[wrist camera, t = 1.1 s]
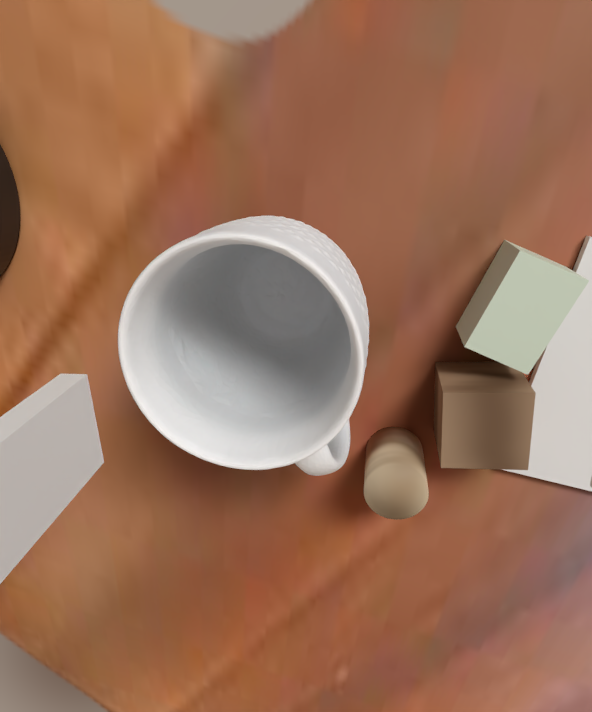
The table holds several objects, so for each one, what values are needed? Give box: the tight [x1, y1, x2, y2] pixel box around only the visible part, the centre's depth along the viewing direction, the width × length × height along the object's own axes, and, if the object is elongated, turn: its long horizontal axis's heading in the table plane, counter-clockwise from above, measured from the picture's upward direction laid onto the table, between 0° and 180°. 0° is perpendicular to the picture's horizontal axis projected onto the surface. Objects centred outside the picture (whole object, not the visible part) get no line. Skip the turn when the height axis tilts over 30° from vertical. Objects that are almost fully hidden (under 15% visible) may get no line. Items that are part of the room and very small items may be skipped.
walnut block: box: [434, 362, 536, 470], centre depth 33 cm, size 5×5×5 cm
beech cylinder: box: [364, 427, 429, 519], centre depth 35 cm, size 4×4×5 cm
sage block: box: [456, 240, 589, 375], centre depth 31 cm, size 4×6×4 cm, turn 158°
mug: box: [118, 216, 369, 476], centre depth 29 cm, size 15×11×13 cm
